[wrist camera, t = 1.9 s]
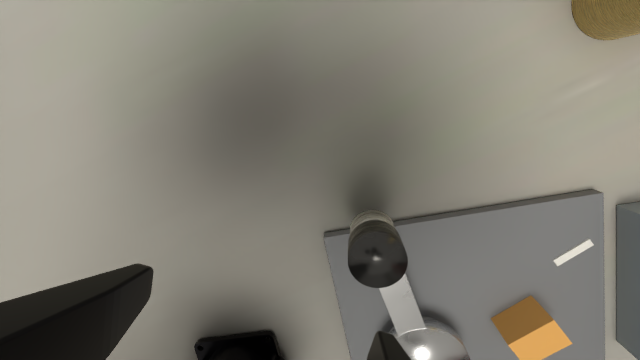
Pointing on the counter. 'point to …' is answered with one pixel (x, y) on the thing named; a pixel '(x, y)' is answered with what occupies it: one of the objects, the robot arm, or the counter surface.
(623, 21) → the pin
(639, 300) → the tray
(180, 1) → the counter surface
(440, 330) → the crank
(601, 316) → the crank base
